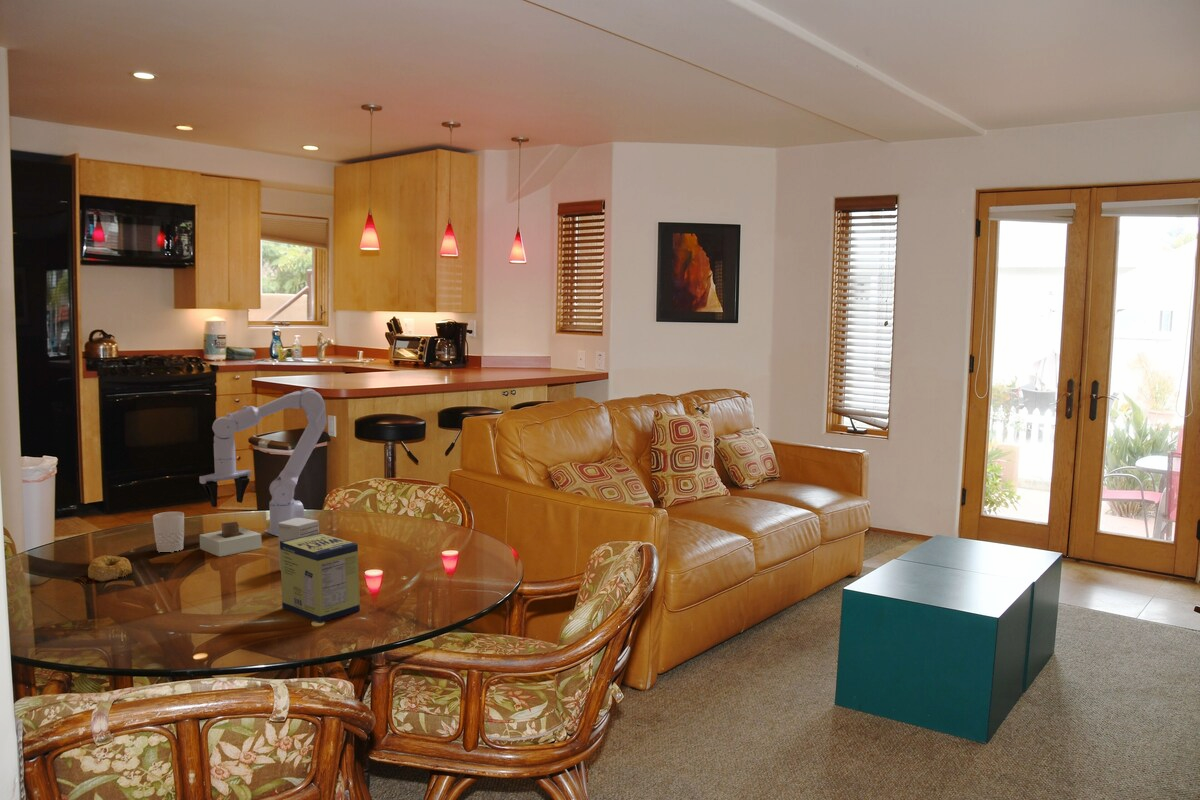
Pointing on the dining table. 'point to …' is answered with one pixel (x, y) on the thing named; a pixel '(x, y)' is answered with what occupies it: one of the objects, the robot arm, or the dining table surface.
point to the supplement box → (296, 529)
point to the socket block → (230, 542)
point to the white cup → (169, 531)
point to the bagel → (109, 568)
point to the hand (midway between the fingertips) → (227, 504)
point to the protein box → (319, 577)
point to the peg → (230, 529)
